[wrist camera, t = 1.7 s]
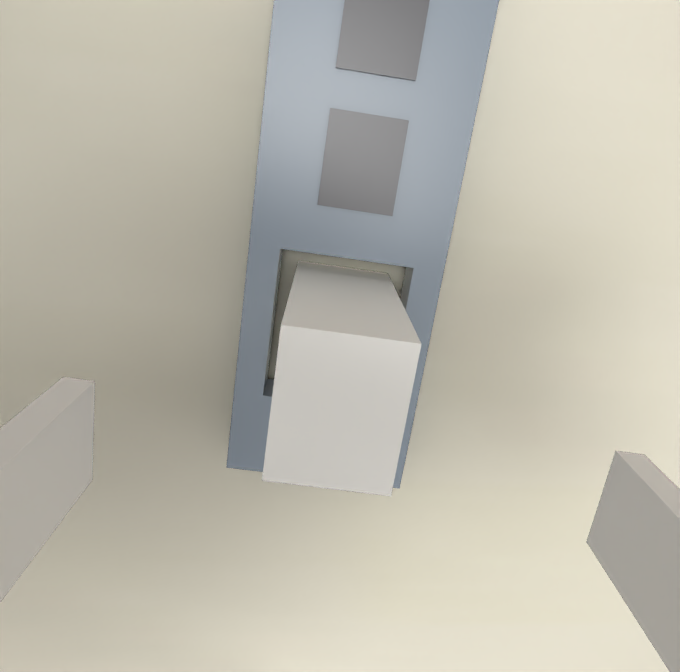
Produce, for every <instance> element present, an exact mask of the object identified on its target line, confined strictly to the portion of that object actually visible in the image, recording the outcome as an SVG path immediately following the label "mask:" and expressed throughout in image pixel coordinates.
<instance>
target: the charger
mask: <svg viewBox="0 0 680 672" xmlns="http://www.w3.org/2000/svg"><path fill="white" fill-rule="evenodd" d="M420 349H421V342H420V340H419V338H418V336H417V333H416V331H415V329H414V327H413V325H412V323H411V321H410V319H409V317H408V315H407V312H406V310H405V308H404V306H403V304H402V302H401V300H400V298H399V296H398V294H397V291H396V289H395V287H394V285H393V283H392V281H391V279H390V277H389V275H388V273H382V272H375V271H368V270H362V269H355V268H348V267H341V266H334V265H327V264H320V263H313V262H306V261H298V265H297V269H296V272H295V276H294V279H293V283H292V287H291V290H290V294H289V298H288V301H287V305H286V308H285V312H284V316H283V319H282V323H281V329H280V337H279V345H278V353H277V361H276V369H275V377H274V386H273V394H272V402H271V410H270V418H269V426H268V434H267V442H266V451H265V459H264V467H263V475H262V481H268V482H276V483H285V484H293V485H302V486H310V487H318V488H327V489H335V490H343V491H352V492H360V493H368V494H377V495H385V496H391V494H392V489H393V484H394V479H395V474H396V469H397V464H398V459H399V454H400V449H401V444H402V439H403V434H404V429H405V424H406V419H407V414H408V409H409V404H410V399H411V394H412V389H413V384H414V379H415V374H416V369H417V364H418V359H419V354H420Z"/></svg>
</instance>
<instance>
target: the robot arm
mask: <svg viewBox="0 0 680 672" xmlns="http://www.w3.org/2000/svg"><path fill="white" fill-rule="evenodd" d="M94 402H95V381H92V380H84V379H77V378H69V377H62V378H61V379H60V380H59V381H57V382H56V383H55V384H54V385H52V386H51V387H50V388H49V389H48V390H46V391H45V392H44V393H43V394H41V395H40V396H39V397H38V398H37V399H35V400H34V401H33V402H32V403H30V404H29V405H28V406H27V407H25V408H24V409H23V410H22V411H21V412H19V413H18V414H17V415H16V416H14V417H13V418H12V419H11V420H10V421H8V422H7V423H6V424H5V425H3V426H2V427H1V428H0V602H1V601H2V600H3V598H4V597H5V596H6V594H7V593H8V592H9V590H10V589H11V588H12V586H13V585H14V584H15V582H16V581H17V580H18V578H19V577H20V576H21V574H22V573H23V572H24V570H25V569H26V568H27V566H28V565H29V564H30V562H31V561H32V560H33V558H34V557H35V556H36V554H37V553H38V552H39V550H40V549H41V548H42V546H43V545H44V544H45V542H46V541H47V540H48V538H49V537H50V536H51V534H52V533H53V532H54V530H55V529H56V528H57V526H58V525H59V524H60V522H61V521H62V520H63V518H64V517H65V516H66V514H67V513H68V512H69V510H70V509H71V508H72V506H73V505H74V504H75V502H76V501H77V500H78V498H79V497H80V496H81V494H82V493H83V492H84V490H85V489H86V488H87V486H88V485H89V484H90V482H91V481H92V480H93V441H94ZM587 544H588V545H589V547H590V548H591V550H592V551H593V553H594V555H595V556H596V558H597V559H598V561H599V562H600V564H601V565H602V567H603V569H604V570H605V572H606V573H607V575H608V576H609V578H610V580H611V581H612V583H613V584H614V586H615V587H616V589H617V590H618V592H619V594H620V595H621V597H622V598H623V600H624V601H625V603H626V604H627V606H628V608H629V609H630V611H631V612H632V614H633V615H634V617H635V619H636V620H637V622H638V623H639V625H640V626H641V628H642V629H643V631H644V633H645V634H646V636H647V637H648V639H649V640H650V642H651V643H652V645H653V647H654V648H655V650H656V651H657V653H658V654H659V656H660V658H661V659H662V661H663V662H664V664H665V665H666V667H667V668H668V670H669V672H680V489H679V488H678V487H677V486H676V485H675V484H674V483H673V482H672V481H671V480H670V479H669V478H668V477H667V476H666V475H665V474H664V473H663V472H662V471H661V470H660V469H659V468H658V467H657V466H656V465H655V464H654V463H653V462H652V461H651V460H650V459H649V458H648V457H647V456H646V455H644V454H637V453H629V452H622V451H615V454H614V458H613V461H612V464H611V467H610V470H609V473H608V476H607V479H606V482H605V486H604V489H603V492H602V495H601V498H600V501H599V504H598V507H597V510H596V514H595V517H594V520H593V523H592V526H591V529H590V532H589V535H588V538H587Z"/></svg>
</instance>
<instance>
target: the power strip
mask: <svg viewBox="0 0 680 672" xmlns="http://www.w3.org/2000/svg"><path fill="white" fill-rule="evenodd" d="M498 3H499V0H274V6H273V16H272V25H271V35H270V45H269V55H268V65H267V74H266V84H265V94H264V104H263V114H262V124H261V133H260V143H259V153H258V163H257V173H256V182H255V192H254V202H253V212H252V222H251V232H250V241H249V251H248V261H247V271H246V281H245V291H244V300H243V310H242V320H241V330H240V340H239V349H238V359H237V369H236V379H235V389H234V399H233V408H232V418H231V428H230V438H229V448H228V458H227V468H235V469H243V470H252V471H260V472H263V467H264V459H265V451H266V442H267V434H268V426H269V418H270V410H271V402H272V394H273V386H274V379H267V378H268V369H269V361H270V353H271V344H272V336H273V327H274V319H275V311H276V302H277V294H278V285H279V277H280V269H281V260H282V252H283V249H286V250H293V251H300V252H307V253H313V254H320V255H327V256H334V257H341V258H348V259H355V260H362V261H369V262H376V263H383V264H390V265H397V266H403V267H406V270H405V276H404V281H403V286H402V292H401V297H400V300H401V302H402V304H403V306H404V308H405V310H406V312H407V315H408V317H409V319H410V321H411V323H412V325H413V327H414V329H415V331H416V333H417V336H418V338H419V340H420V342H421V349H420V354H419V359H418V364H417V369H416V374H415V379H414V384H413V389H412V394H411V399H410V404H409V409H408V414H407V419H406V424H405V429H404V434H403V439H402V444H401V449H400V454H399V459H398V464H397V469H396V474H395V479H394V484H393V488H400V483H401V478H402V473H403V469H404V464H405V459H406V454H407V449H408V444H409V439H410V434H411V429H412V424H413V420H414V415H415V410H416V405H417V400H418V395H419V390H420V385H421V380H422V375H423V371H424V366H425V361H426V356H427V351H428V346H429V341H430V336H431V331H432V327H433V322H434V317H435V312H436V307H437V302H438V297H439V292H440V287H441V282H442V278H443V273H444V268H445V263H446V258H447V253H448V248H449V243H450V238H451V233H452V229H453V224H454V219H455V214H456V209H457V204H458V199H459V194H460V189H461V184H462V180H463V175H464V170H465V165H466V160H467V155H468V150H469V145H470V140H471V135H472V131H473V126H474V121H475V116H476V111H477V106H478V101H479V96H480V91H481V87H482V82H483V77H484V72H485V67H486V62H487V57H488V52H489V47H490V42H491V38H492V33H493V28H494V23H495V18H496V13H497V8H498Z"/></svg>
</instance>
